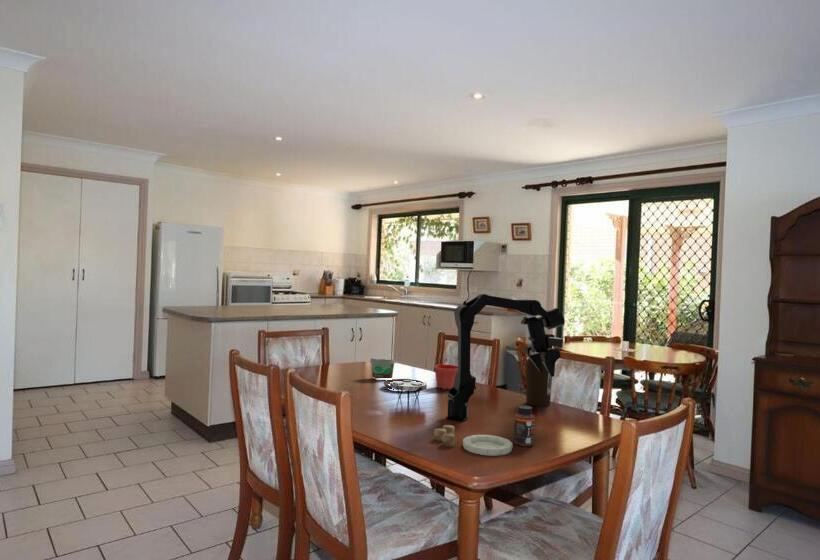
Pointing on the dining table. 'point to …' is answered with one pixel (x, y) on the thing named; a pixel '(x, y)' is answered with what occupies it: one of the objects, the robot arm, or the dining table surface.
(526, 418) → the supplement bottle
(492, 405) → the dining table surface
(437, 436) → the wooden bead
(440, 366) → the flower pot
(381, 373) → the food container
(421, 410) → the dining table surface
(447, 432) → the wooden bead
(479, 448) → the round tray
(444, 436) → the wooden bead
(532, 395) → the olive oil
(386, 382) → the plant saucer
